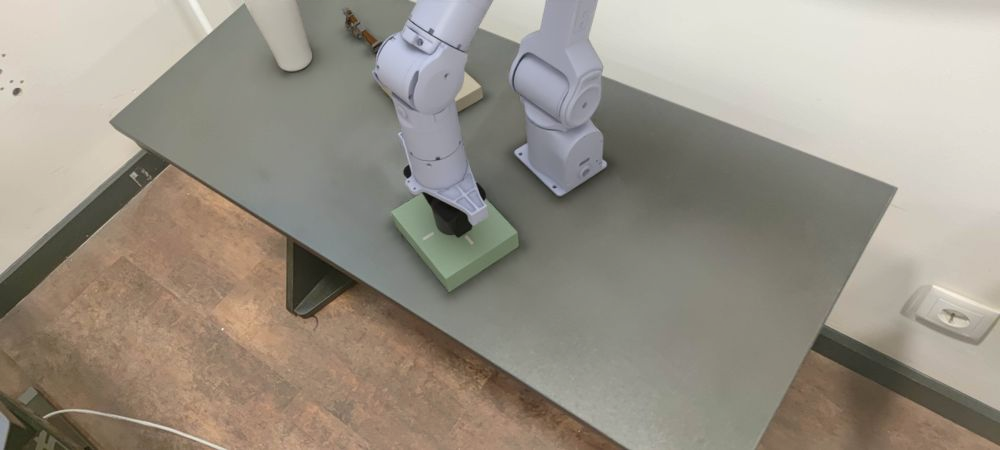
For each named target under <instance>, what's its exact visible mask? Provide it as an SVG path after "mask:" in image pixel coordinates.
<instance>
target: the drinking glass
mask: <svg viewBox="0 0 1000 450" xmlns="http://www.w3.org/2000/svg"><path fill="white" fill-rule="evenodd" d="M243 2H244V4H245V7H246V9H247V10H248V12H249V14H250V16H251V17H252V20H253V21H254V23H255V25H256V27H257V28H258V30H259V32H260V35H262V37H263V39H264V40H265V41H264V42H265V43H266V44H267V46H268V48H269V49H270V52H271V53H272V55H273V57H274V60H275V62H276V64H277V66H278V67H279V68H280V69H281V70H283V71H286V72H298V71H301V70H303V69H305V68H306V67H308V66H309V65H310V63H312V60H313V52H312V48H311V46H310V43H309V40H308V36H307V32H306V28H305V26H304V22H303V17H302V15H301V11H300V6H299V3H298V0H243Z"/></svg>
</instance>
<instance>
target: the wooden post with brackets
mask: <svg viewBox="0 0 1000 450" xmlns="http://www.w3.org/2000/svg"><path fill="white" fill-rule="evenodd" d="M341 10H342V12H343V13H342V14H343V15H344V16H345V20H344V27H345V28H346V30H348V29H350V30H351V35H354V36H355V39H362V38H364V39H365V40H366V42H367V43H368V44H369V46H370V49H371V53H372V54H374V53H376V52H378V50H379V48H380V47H381V45H382V44H383V42H384V41H383V40H382V39H381V38H380V39H379V40H378V39H377V38H375V36H373V35H372V34H371V33H370V32H369V31H368V30H367V27H365V26H364V24H363V22H361V21H360V20H358V18H357V17H356V16H355V14H354V12H353V11H352V10H351V9H350V7H346V6H343V7H342V9H341Z"/></svg>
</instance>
